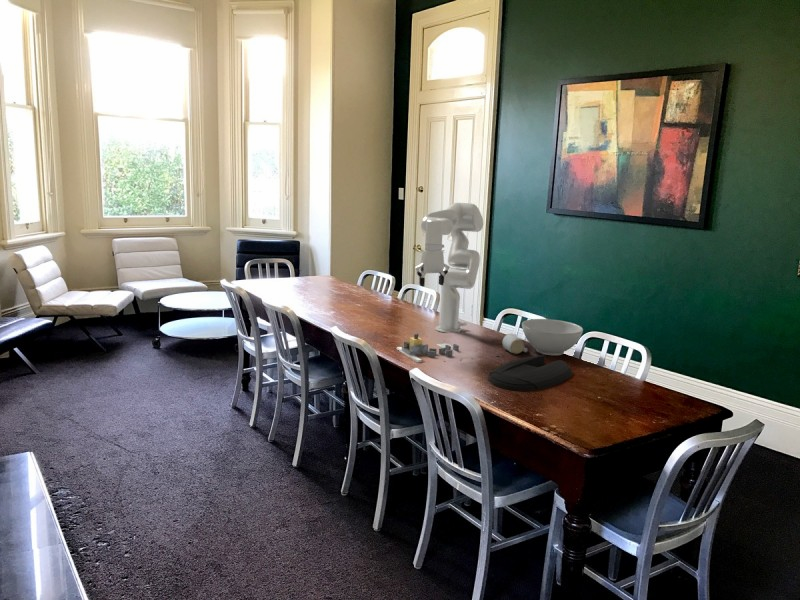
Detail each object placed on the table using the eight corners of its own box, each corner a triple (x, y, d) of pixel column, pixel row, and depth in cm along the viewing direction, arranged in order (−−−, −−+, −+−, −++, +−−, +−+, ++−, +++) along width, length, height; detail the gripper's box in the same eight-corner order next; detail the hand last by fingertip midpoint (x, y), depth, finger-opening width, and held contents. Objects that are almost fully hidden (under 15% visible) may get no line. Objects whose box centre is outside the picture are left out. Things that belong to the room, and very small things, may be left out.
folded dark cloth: (472, 380, 235) (473, 368, 234) (526, 360, 265) (527, 349, 264) (530, 398, 219) (531, 385, 218) (580, 374, 249) (582, 362, 248)
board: (445, 345, 281) (446, 337, 280) (469, 357, 264) (469, 349, 263) (396, 349, 270) (397, 341, 270) (417, 362, 253) (417, 354, 252)
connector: (417, 350, 267) (418, 332, 265) (421, 352, 263) (422, 334, 262) (409, 351, 265) (410, 333, 264) (413, 353, 262) (414, 335, 260)
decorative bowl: (521, 341, 295) (523, 316, 292) (579, 347, 288) (582, 322, 286) (517, 356, 269) (519, 329, 267) (580, 363, 263) (583, 336, 260)
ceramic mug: (510, 355, 270) (511, 338, 268) (501, 349, 278) (502, 333, 276) (531, 354, 274) (533, 337, 272) (521, 349, 281) (523, 333, 280)
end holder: (419, 348, 269) (419, 339, 269) (427, 353, 262) (428, 344, 262) (401, 350, 266) (402, 341, 265) (409, 355, 259) (410, 346, 258)
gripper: (446, 245, 279) (444, 282, 283) (412, 246, 271) (410, 284, 275) (454, 248, 272) (452, 286, 276) (419, 249, 265) (418, 288, 269)
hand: (431, 285), depth 276 cm, fingers open, 9 cm apart
